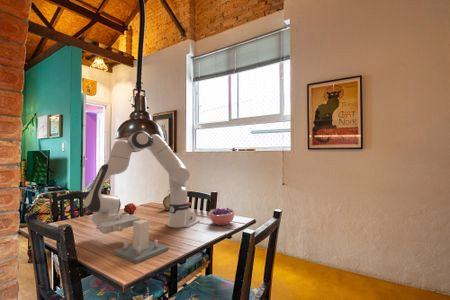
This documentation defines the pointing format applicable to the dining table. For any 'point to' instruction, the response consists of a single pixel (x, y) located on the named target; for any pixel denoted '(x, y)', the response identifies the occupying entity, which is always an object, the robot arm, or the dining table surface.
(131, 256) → the peg cradle
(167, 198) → the alarm clock
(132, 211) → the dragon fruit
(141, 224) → the cream post
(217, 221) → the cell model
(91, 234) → the dining table surface
